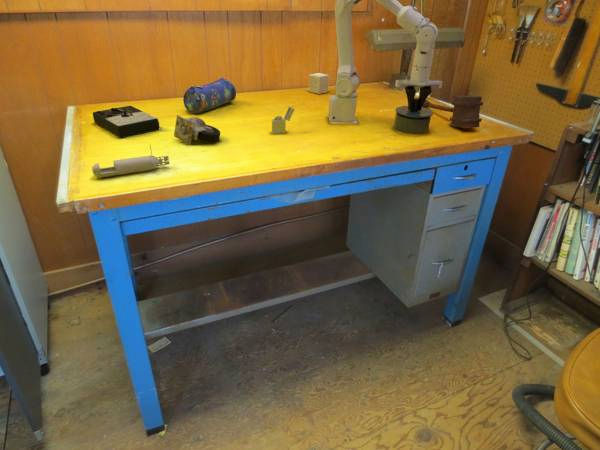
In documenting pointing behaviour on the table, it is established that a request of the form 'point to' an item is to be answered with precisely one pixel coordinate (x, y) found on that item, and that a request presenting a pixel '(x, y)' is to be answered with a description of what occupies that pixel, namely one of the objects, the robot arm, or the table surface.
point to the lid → (414, 110)
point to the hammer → (462, 111)
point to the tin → (411, 124)
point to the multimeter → (126, 121)
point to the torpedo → (130, 165)
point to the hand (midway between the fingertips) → (414, 109)
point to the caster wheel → (195, 130)
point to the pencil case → (209, 96)
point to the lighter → (281, 122)
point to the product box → (318, 83)
